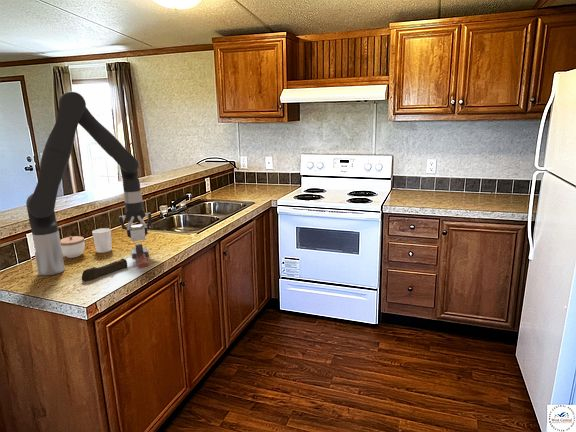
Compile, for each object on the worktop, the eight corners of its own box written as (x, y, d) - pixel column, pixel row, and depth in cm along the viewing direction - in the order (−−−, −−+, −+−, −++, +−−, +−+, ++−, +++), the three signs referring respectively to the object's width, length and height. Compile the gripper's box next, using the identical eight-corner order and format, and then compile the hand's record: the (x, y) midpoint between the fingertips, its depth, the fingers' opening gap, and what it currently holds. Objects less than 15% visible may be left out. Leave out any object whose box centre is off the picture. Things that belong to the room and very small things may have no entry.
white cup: (109, 246, 197) (106, 227, 194) (115, 250, 191) (113, 230, 189) (92, 250, 192) (89, 230, 189) (98, 254, 186) (95, 234, 184)
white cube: (131, 241, 179) (130, 228, 178) (130, 238, 185) (129, 225, 183) (145, 239, 182) (144, 227, 180) (144, 236, 187) (142, 223, 186)
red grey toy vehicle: (134, 268, 168) (133, 257, 167) (131, 253, 187) (130, 243, 186) (152, 265, 171) (151, 254, 170) (146, 251, 190) (145, 241, 188)
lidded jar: (82, 258, 181) (79, 238, 179) (56, 260, 179) (53, 240, 177) (89, 250, 191) (86, 232, 189) (65, 252, 190) (62, 233, 187)
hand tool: (123, 266, 172) (121, 256, 171) (128, 268, 170) (127, 257, 168) (79, 281, 157) (77, 270, 156) (84, 283, 155) (82, 272, 154)
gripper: (116, 204, 173) (121, 241, 177) (151, 200, 178) (155, 236, 183) (115, 200, 179) (120, 236, 183) (149, 197, 185) (153, 232, 189)
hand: (137, 236), depth 183 cm, fingers closed on white cube, 6 cm apart
